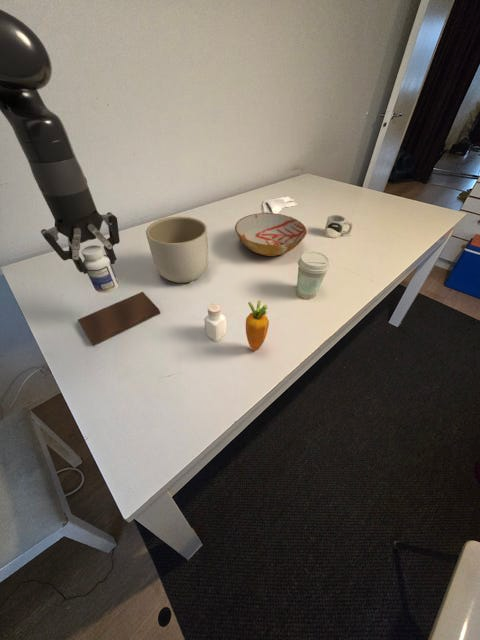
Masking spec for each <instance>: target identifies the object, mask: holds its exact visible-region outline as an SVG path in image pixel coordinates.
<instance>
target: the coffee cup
mask: <svg viewBox="0 0 480 640" xmlns="http://www.w3.org/2000/svg"><path fill="white" fill-rule="evenodd" d="M297 265H298V267H297V282H296V295H297V296H298V297H300V298H302V299H304V300H311V299H312V300H313V299H314V298H315V297H316V296H317V294H318V291H319V289H320V287H321V285H322V283H323V281H324V278H325V276H326V273H327V272H328V271H329V269H330V258H329V257H328V256H327V255H326V254H324V253H322V252H319V251H306V252H304V253H301V255H300V257H299V258H298V261H297Z"/></svg>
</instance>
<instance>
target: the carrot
mask: <svg viewBox="0 0 480 640" xmlns="http://www.w3.org/2000/svg"><path fill="white" fill-rule="evenodd" d="M247 304H248V306H249V307H250V310H251V312H250V313H249V315H247V317H246V319H245V335H246V338H247V343H248V345H249V347H250V349H251V350H252V351H253V352H257V351H259V349H260V348H261V346H262V345H263V344H264V341H265V339H266V338H267V334H268V330H269V324H270V320H269V318H268V316H267V315H266V314H268V311H267V310H268V305H267V304H264V305H262V307H261V304H262V300H258V301H257V303H256V309H255V307H254V304H253V303H252V302H251V301H249V302H248V303H247ZM260 307H261V308H260Z"/></svg>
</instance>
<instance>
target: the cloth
mask: <svg viewBox="0 0 480 640" xmlns="http://www.w3.org/2000/svg"><path fill="white" fill-rule="evenodd" d="M294 200H295V199H294V198H291V197H290V196H282V197H277V198H271V199H265V200H263V201H262V202H263V203H262V210H263V213H274V214H280V212H281V211H282V210H283V209H285V208H291V207H295V206H297V205H298V203H296V202H294Z"/></svg>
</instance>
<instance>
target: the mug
mask: <svg viewBox="0 0 480 640" xmlns="http://www.w3.org/2000/svg"><path fill="white" fill-rule="evenodd" d="M345 225H346V226H347V225H348V226H349V228H348V229H347V231H346V230H343V229H344V227H345ZM353 226H354V223H353V222H352V221H348V220H346V217H344V216H343V215H340V214H331V215H328V216H327V220H326V224H325V227H324V230H323V235H324V236H325V237H326V238H330V239H339V238H340V237H341V236H342V235H349V234H350V233H352V229H353Z"/></svg>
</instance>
